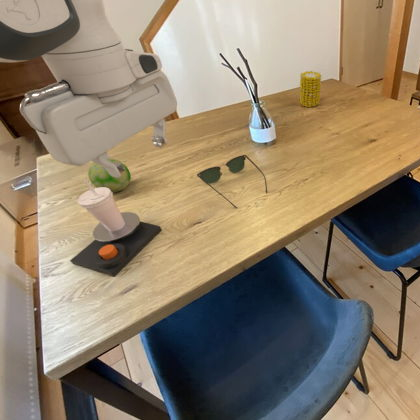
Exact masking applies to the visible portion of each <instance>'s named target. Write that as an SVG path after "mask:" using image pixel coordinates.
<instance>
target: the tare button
mask: <svg viewBox="0 0 420 420" xmlns="http://www.w3.org/2000/svg"><path fill="white" fill-rule="evenodd" d="M99 254H100V255H101V257H102V258H103V259H105V260H108V259H111V258H113V257H115V256H116V255H117V254H118V250H117V249H116V248H115V247H114V245H106V246H104V247H102V248H101V249H100V250H99Z"/></svg>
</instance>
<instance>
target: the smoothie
mask: <svg viewBox="0 0 420 420" xmlns="http://www.w3.org/2000/svg"><path fill="white" fill-rule="evenodd" d="M82 181H83V182H84V184H85V186H87V188H88V189H89V190H87V191H85V192H83V193H82V194H80V195H79V197H77V200H76V201H77V204H78V205H79V207H80V208H83V209H85V210H86V211H87V212H88V213H89V214H90V215H92V216H93V217H94V218H95V219H96V221H98V222H99V223H101V224H102V225H103V226H105V227H106V228H107V229H108V230H109V231H117V230H119V229H121V228H123V227H124V225H125V222H124V219H123V217H122V215H121V213H122V212H120V209H119V207H118V205H117V203H116V201H115V198H114V197H113V194H114V193H112V192H111V190H110V189H109V188H106V187H99V188H96V187H94V188H93V185H91V184H90V182H89V181H88V180H87V178H84V179H82Z"/></svg>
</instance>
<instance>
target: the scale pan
mask: <svg viewBox="0 0 420 420" xmlns="http://www.w3.org/2000/svg"><path fill="white" fill-rule="evenodd" d="M120 213H121V215H122V217H123V219H124V222H125V225H124V227H123V228H121V229H119V230H117V231H109V230H108V229H107V228H106V227H105V226H103V225H102V224H101V223H100V222H99V223H97V224H96V225H95V227H94V228H93V230H92V237H93V238H94V240H95V239H96V240H97V241H99V242H102V243H110V242H115V241H118V240H121V239H123V238H125V237H127V236H129V235H130V234H132V233H133V232H134V231H135V230H136V229H137V228H138V226H139V224H140V221H141V218H140V217H139V215H138V214H137V213H134V212H131V211H124V212H123V211H122V212H120Z"/></svg>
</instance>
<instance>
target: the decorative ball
mask: <svg viewBox="0 0 420 420" xmlns="http://www.w3.org/2000/svg"><path fill="white" fill-rule="evenodd" d="M106 160H107V161H109V162H116V163H121V164H122V165H123V167H124V169H125V170H126V173H124V174H123V175H121V176H120V177H118V178H117V177H112V176H111V175H110V174H109V173H108V171H107V170H106V168H105V167H103V166H101V165H99V164H97V163H94V162H92V164H91V165H90V166H89V168H88V171H87V175H88V179H89V180H90V183H91V184H92V186H94V188H99V187H106V188H109V189H110V190H111V192H112V194H114V193H116V192H121V191H123V190H125V189H126V188H127V187H129V185H130V182H131V180H132V179H131V172H130V169H129V168H128V166H126V164H124V163H123V162H122V161H120V160H118V159H115V158H110V157H109V158H108V159H106Z"/></svg>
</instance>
